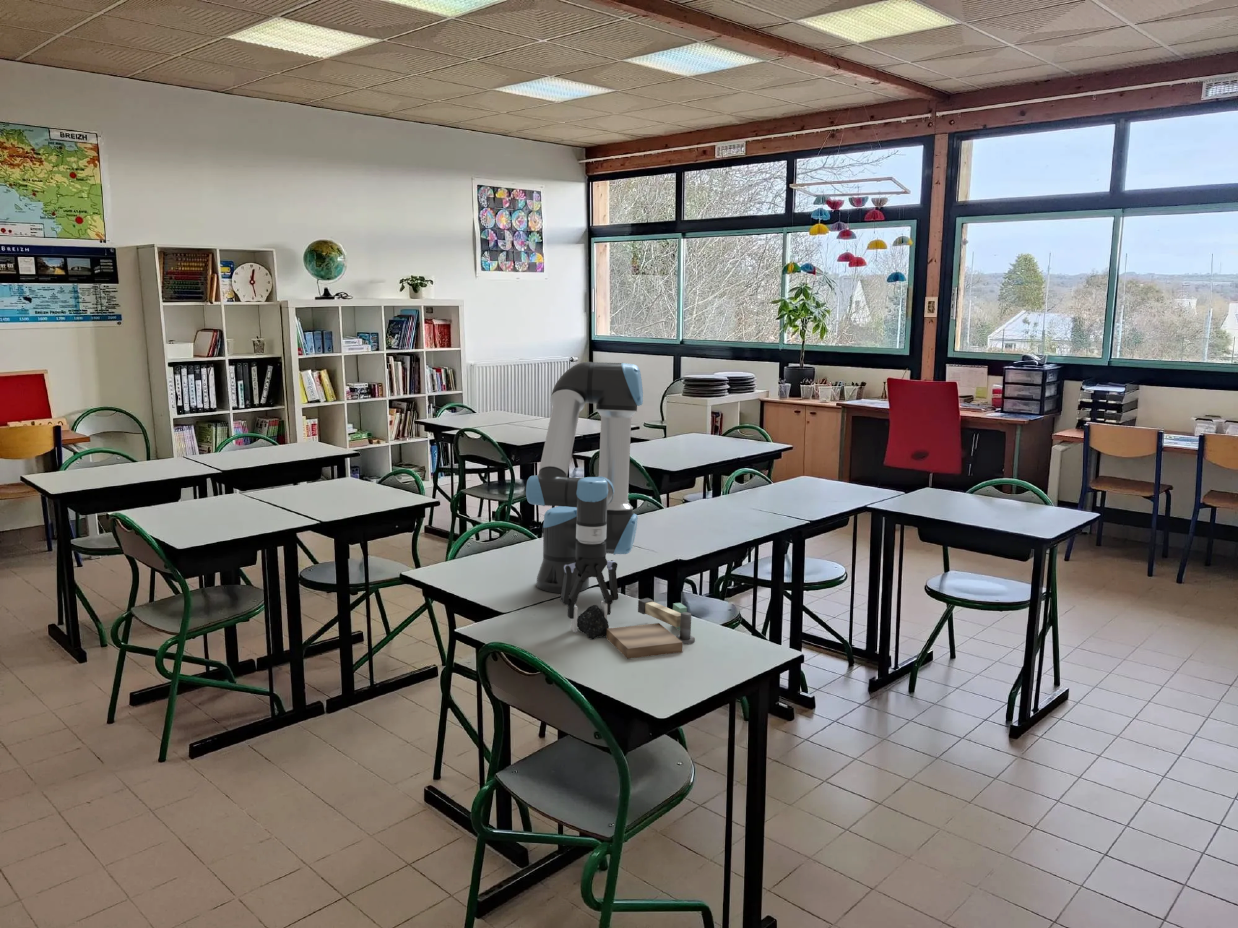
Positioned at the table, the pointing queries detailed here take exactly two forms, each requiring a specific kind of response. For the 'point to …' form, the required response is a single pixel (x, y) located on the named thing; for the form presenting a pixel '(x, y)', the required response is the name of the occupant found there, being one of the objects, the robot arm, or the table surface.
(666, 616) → the leg
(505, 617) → the table surface
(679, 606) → the pale green block
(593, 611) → the rock
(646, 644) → the seat
